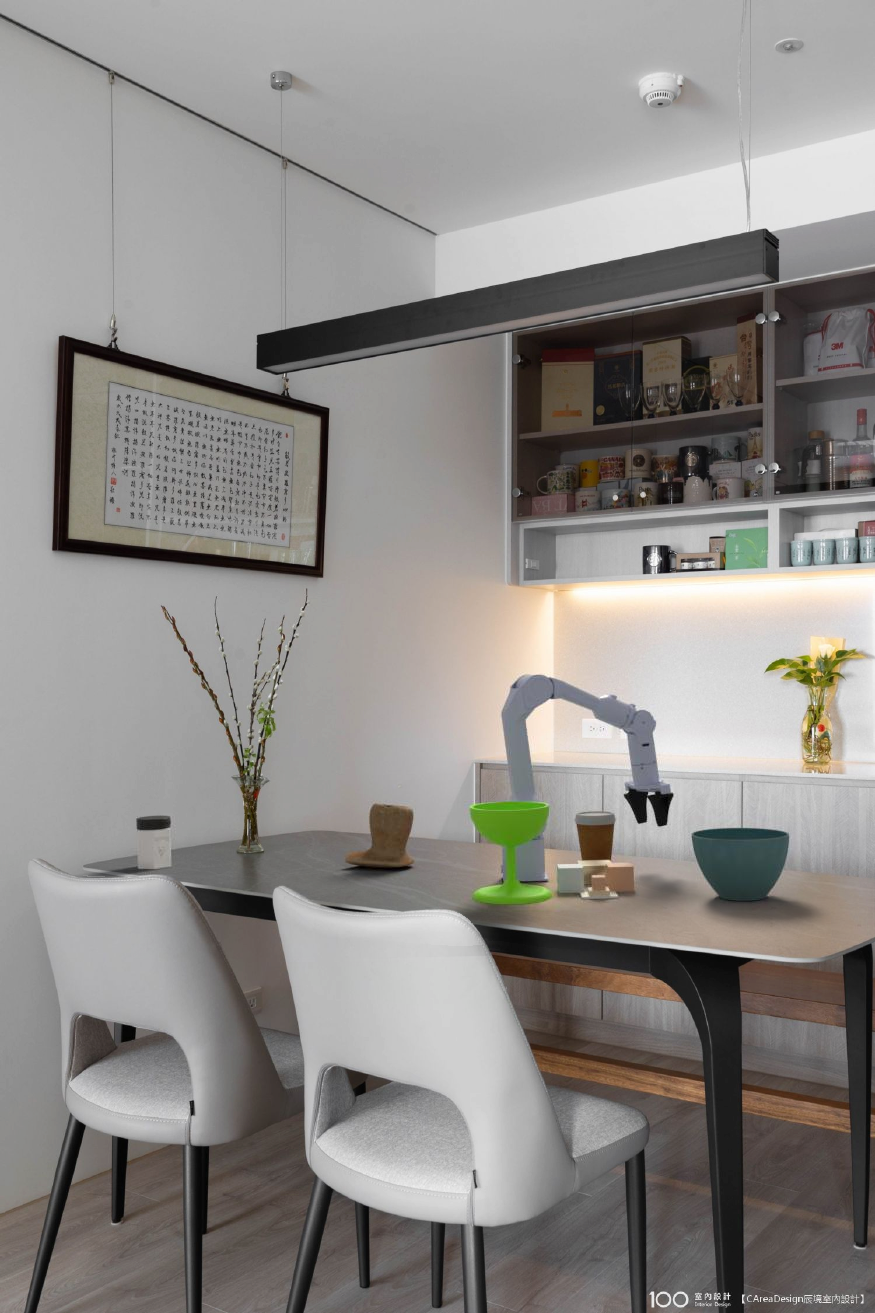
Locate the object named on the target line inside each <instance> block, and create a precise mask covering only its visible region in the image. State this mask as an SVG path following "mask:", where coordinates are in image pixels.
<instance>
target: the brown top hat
mask: <svg viewBox="0 0 875 1313" xmlns="http://www.w3.org/2000/svg"><path fill="white" fill-rule="evenodd" d="M369 810H370V811H369V816H368V817H369V821H368V822H369V831H370V836H371V837H370V838H371V846H370V848H369V849H366V850H357V851H353V852H350V853H349V854H348V855H346V856H345V858H344V862H345V863H346V864H350V865H353V866H359V867H367V868H381V869H389V868H390V869H392V868H402V867H408V866H411V865H413V864H414V863H415V858H413V857H411V856H410V855H409V854H408V853H407V851H406V850H407V849H406V847H407V843H408V840H409V838H410V834H411V831H412V828H413V822H414V815H415V814H414V810H413V809H412V807H410V806H405V805H394V804H393V805H392V804H385V803H381V802H374V803H373V804H372V806H371V807H370V809H369Z"/></svg>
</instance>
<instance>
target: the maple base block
mask: <svg viewBox="0 0 875 1313" xmlns="http://www.w3.org/2000/svg"><path fill="white" fill-rule="evenodd" d="M606 863H613V862H612V860H611V861H610V860H587V861H582V860H577V861H576V864H582V866H583V869H584V885H592V879H591V875H604V876H605V880H606ZM606 885H607V883H606Z"/></svg>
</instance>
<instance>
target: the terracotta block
mask: <svg viewBox="0 0 875 1313" xmlns="http://www.w3.org/2000/svg"><path fill="white" fill-rule="evenodd" d="M634 869H635V868H634V865H633V864H632V863H631V862H612V863H606V883H607V884H606V887H608V888H609V890H610V891H615V892H616V893H618V892H635V873H634V872H635V870H634Z"/></svg>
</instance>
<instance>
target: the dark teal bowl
mask: <svg viewBox="0 0 875 1313" xmlns="http://www.w3.org/2000/svg"><path fill="white" fill-rule="evenodd" d="M691 843H692V847H693V849H692V850H693V852H694V856H695V858H696V861H697V864H698V867H699V869H700V870H701V873H702V875H703V877H704V878H705V880H706V881H707V883H708V884H709V885H710V887H711V888H712V890H714V892H715V893H716V895H718V897H719V898H720V899H722V900H723V899H724V900H728V901H737V902H739V901H740V902H747V901H748V902H750V901H751V902H752V901H759V900H763V899H765V898H766V897H767V896H768V894H769V893H770V892H771V891H772V890H773V889H774V886H775V885H776V883H777V882H778V881H779V879H780V877H781V875H782V873H783V869H784V867H785V865H786V862H787V857H788V853H789V847H790V846H789V845H790V833H789V832H787V831H783V830H779V829H772V828H771V829H770V828H759V827H758V828H756V827H720V828H708V829H701V830H696V831H693V832H692V833H691Z"/></svg>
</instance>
